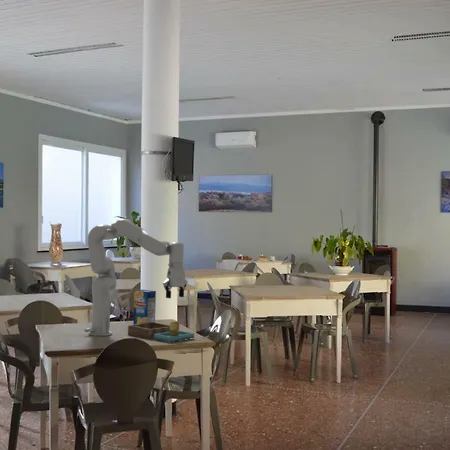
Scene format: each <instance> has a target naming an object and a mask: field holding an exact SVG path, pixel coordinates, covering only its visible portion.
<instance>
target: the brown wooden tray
mask: <svg viewBox="0 0 450 450" xmlns="http://www.w3.org/2000/svg"><path fill="white" fill-rule="evenodd" d="M165 332H170V324H164V323H158V322H155V323H154V322H150V323H143V324H135V325H133V324H129V325H128V326H127V335H128V336H133V337H134V336H135V337H139V338H144V339H149V340H152V338H153V339H154V334H158V333H165Z"/></svg>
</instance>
